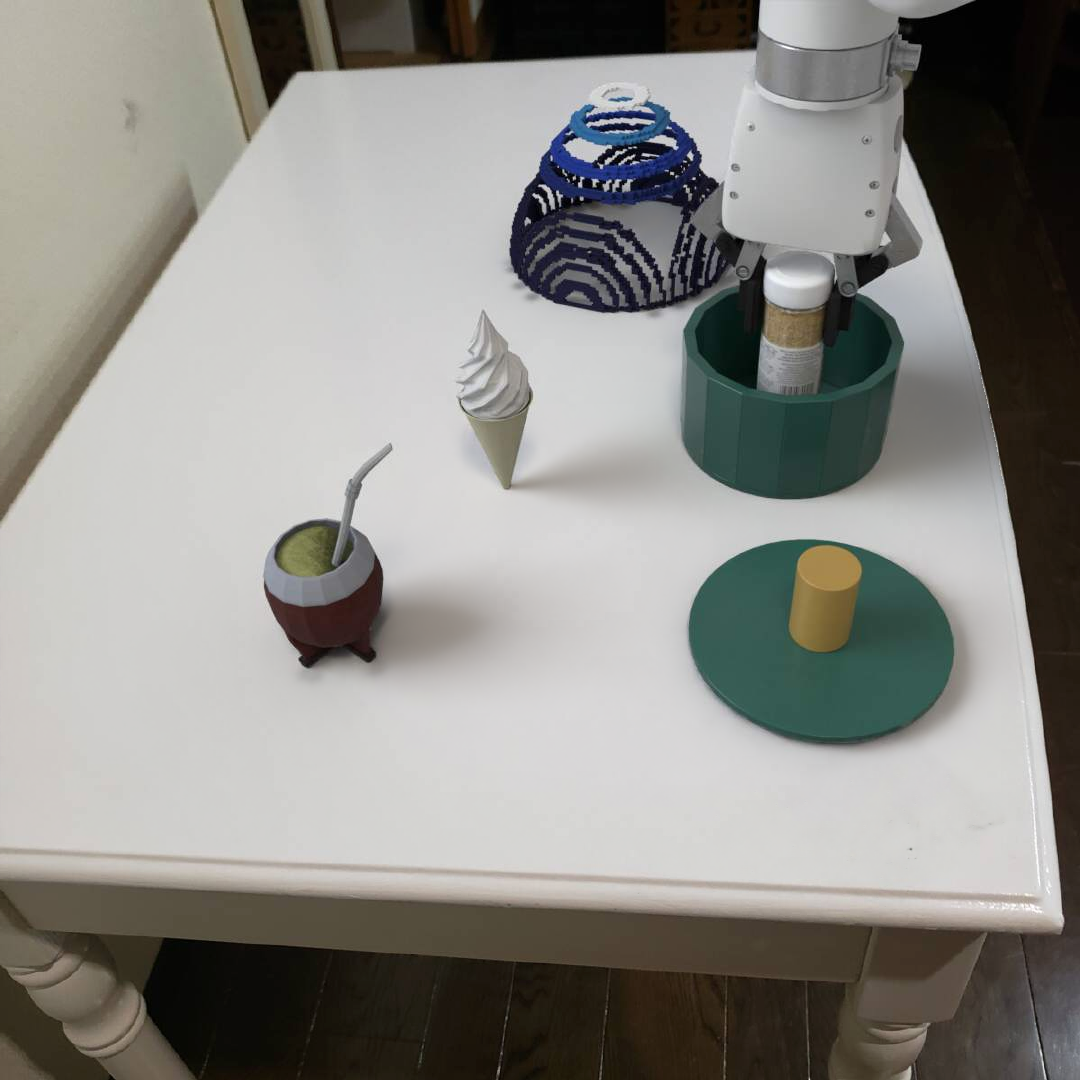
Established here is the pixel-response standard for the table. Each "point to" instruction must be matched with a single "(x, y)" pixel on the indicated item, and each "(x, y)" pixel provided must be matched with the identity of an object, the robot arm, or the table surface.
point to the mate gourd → (327, 581)
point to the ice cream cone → (495, 397)
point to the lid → (821, 641)
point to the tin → (786, 404)
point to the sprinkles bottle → (794, 322)
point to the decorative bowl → (613, 203)
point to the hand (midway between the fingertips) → (793, 326)
